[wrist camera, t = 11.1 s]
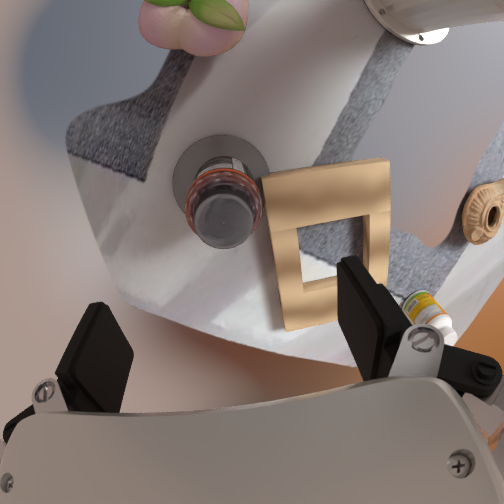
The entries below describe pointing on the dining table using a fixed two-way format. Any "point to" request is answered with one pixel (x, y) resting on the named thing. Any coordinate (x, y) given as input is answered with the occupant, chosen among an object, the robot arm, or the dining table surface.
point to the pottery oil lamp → (483, 212)
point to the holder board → (319, 211)
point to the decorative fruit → (194, 24)
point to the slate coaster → (209, 150)
